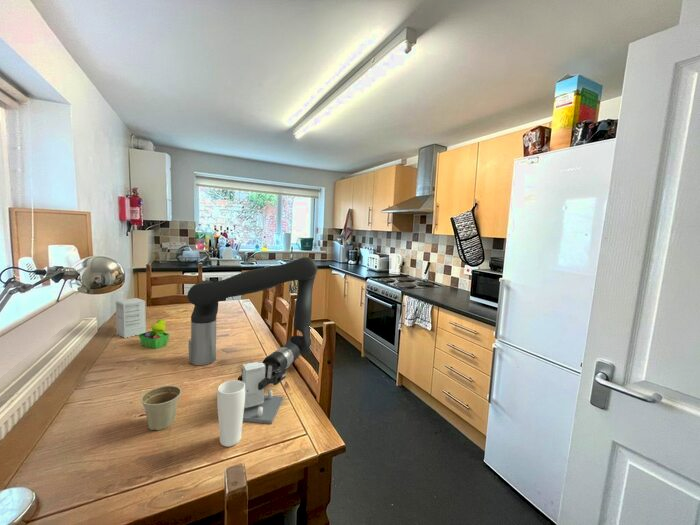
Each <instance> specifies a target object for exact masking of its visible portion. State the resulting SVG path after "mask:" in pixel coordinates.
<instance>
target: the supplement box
mask: <svg viewBox="0 0 700 525" xmlns="http://www.w3.org/2000/svg"><path fill="white" fill-rule="evenodd" d="M115 313H116V334H117V335H118V334H119V335H118V336H120V337H121V336H122V337H121V338H123V337H124V338H123V339H128V338H130V337H131V336H132V337H136V336H135V335H137V336H138V335H139V334H142V333H146V332H147V331H146V330H147V319H146V318H147V317H146V315H147V314H146V300H143V299H141V298H138V297H134V298H127V299H120V300H116V301H115ZM127 337H128V338H127Z"/></svg>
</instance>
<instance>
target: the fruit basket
mask: <svg viewBox="0 0 700 525" xmlns="http://www.w3.org/2000/svg"><path fill="white" fill-rule="evenodd" d="M166 325H167V323H166V321H165V319H162V318H161V319H160V318H159V319H158V320H157V321H156V323H153V325H151V330H150V331H149V330H148V331H146V333H142V334H139V335H137V336H138V338H139V339H140V342H141V346H143V345H145V346H144V347H147V348H150V349H153V348H154V349H153V350H156V349H160V348H163V347H165V346H167V345H168V340H169V337H170V336H171V334H170V333H167V332H165V331H166V327H167V326H166Z"/></svg>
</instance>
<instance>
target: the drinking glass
mask: <svg viewBox="0 0 700 525" xmlns="http://www.w3.org/2000/svg"><path fill="white" fill-rule="evenodd" d="M216 394H217V395H216V404H217V405H216V406H217V407H216V408H217V419H218V420H217V421H218V430H219V443H220V445H221V446H223V447H228V448H229V447H233V446H235V445H237V444H238V443H240V441H241V439H242V434H243V423H244V421H243V415H244V406H245V383H244V382H242V381H238V379H236V380H234V379H233V380H232V379H231V380H228V381H227V380H226V381H225V382H222V383H221V384H219V386H218V387H217V392H216Z"/></svg>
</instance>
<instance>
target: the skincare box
mask: <svg viewBox="0 0 700 525" xmlns="http://www.w3.org/2000/svg"><path fill="white" fill-rule="evenodd" d="M251 362H252V363H251ZM251 362H248V363H244V364H242V368H243V372H242V371H241V375H242V382H244V383H245V406H244V408H247V407H252V406H255V405H259V404H262V403H264V395H265V388H264V389H262V390H258V384H259V382H261V381H262V380H263V379H264V378H265V365H264V364H263V361H262V360H260V361H251Z"/></svg>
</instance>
